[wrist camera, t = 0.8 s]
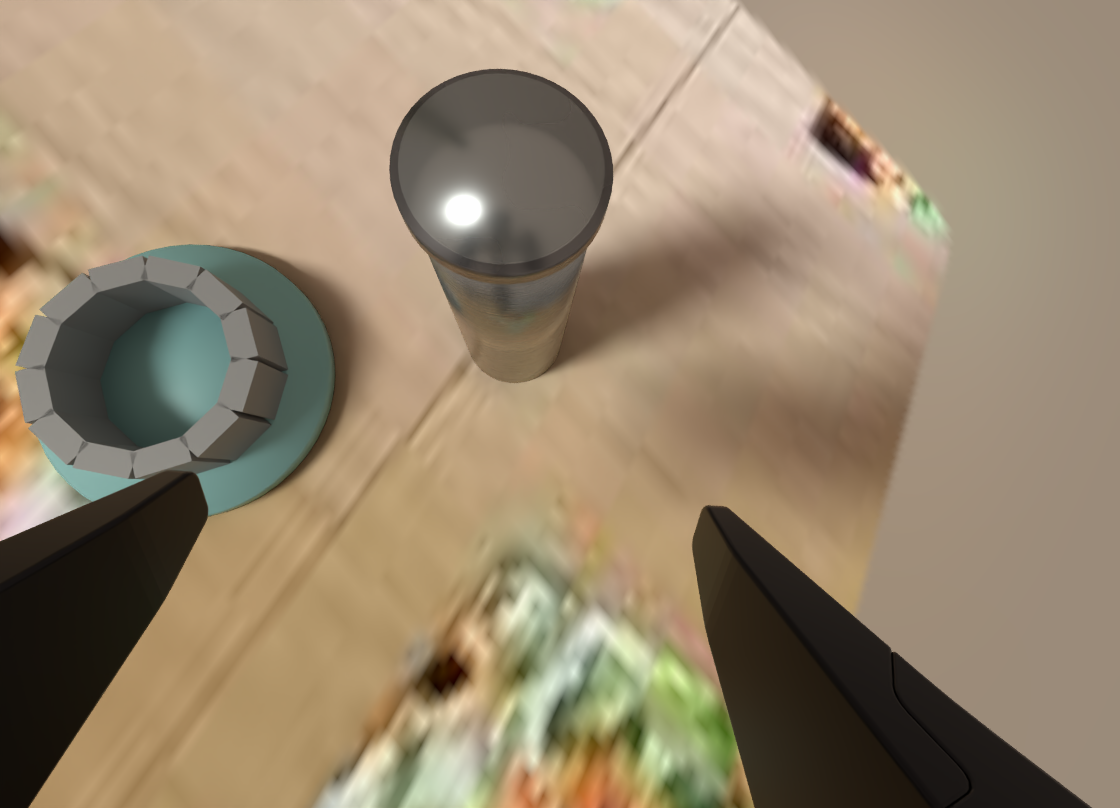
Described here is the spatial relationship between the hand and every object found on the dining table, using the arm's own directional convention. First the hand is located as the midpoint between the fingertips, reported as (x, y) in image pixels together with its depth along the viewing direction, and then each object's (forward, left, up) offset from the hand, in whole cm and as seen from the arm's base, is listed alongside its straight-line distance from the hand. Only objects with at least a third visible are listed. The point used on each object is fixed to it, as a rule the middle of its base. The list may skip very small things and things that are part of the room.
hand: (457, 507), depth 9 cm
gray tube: (+6, +4, -14) cm, 15 cm away
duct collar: (-5, +13, -14) cm, 20 cm away
